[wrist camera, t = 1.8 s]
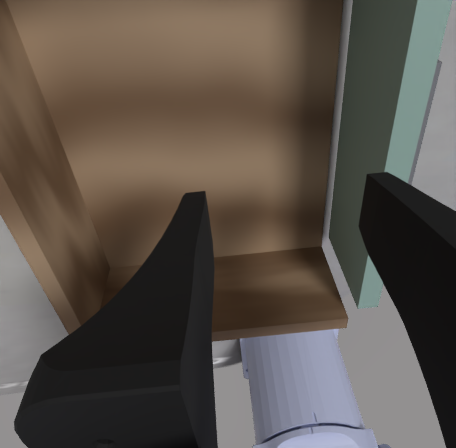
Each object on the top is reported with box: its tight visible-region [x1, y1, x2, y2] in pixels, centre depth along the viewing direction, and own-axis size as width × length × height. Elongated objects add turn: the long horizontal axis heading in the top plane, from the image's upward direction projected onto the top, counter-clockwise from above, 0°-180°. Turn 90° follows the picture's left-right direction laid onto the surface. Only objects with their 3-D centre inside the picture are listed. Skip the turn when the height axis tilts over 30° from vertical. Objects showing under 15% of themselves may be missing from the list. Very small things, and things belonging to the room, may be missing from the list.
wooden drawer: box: [0, 0, 348, 342], centre depth 17 cm, size 20×14×7 cm
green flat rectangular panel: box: [329, 0, 452, 309], centre depth 16 cm, size 17×2×6 cm, turn 5°
